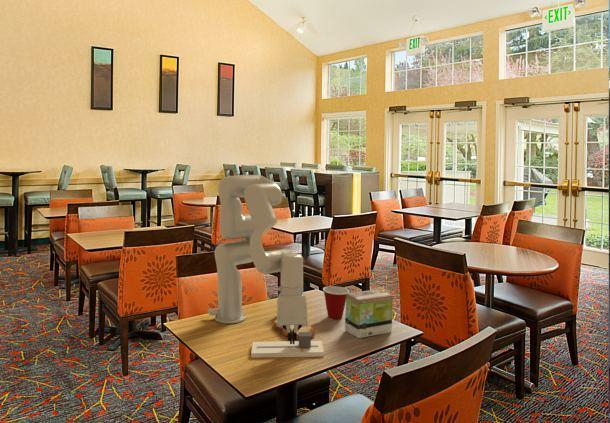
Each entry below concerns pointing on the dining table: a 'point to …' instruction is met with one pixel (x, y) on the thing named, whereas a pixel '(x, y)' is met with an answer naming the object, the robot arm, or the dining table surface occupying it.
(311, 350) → the console board
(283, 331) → the bread slice
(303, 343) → the slider tab
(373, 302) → the tea box
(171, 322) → the dining table surface
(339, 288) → the plastic cup
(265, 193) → the robot arm
